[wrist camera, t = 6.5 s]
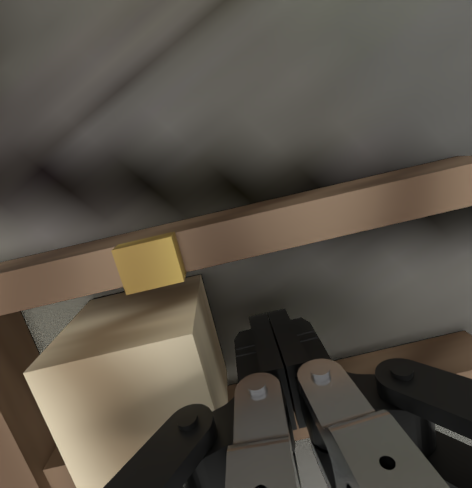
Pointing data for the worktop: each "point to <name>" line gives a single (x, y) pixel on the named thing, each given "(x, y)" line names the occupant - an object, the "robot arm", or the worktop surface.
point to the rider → (126, 375)
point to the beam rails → (198, 257)
